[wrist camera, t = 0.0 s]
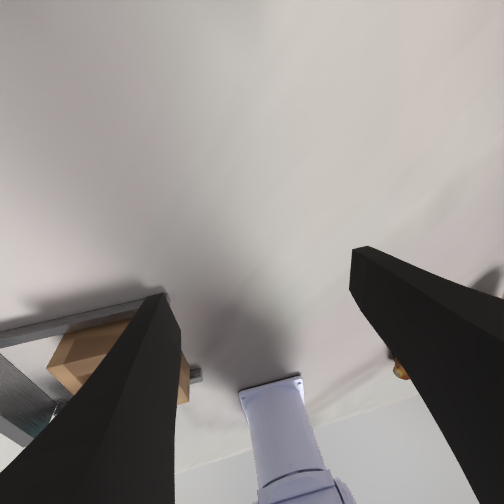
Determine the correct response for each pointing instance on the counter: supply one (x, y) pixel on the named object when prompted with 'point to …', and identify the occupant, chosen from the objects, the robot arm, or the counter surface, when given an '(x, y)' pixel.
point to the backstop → (26, 392)
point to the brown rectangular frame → (97, 356)
